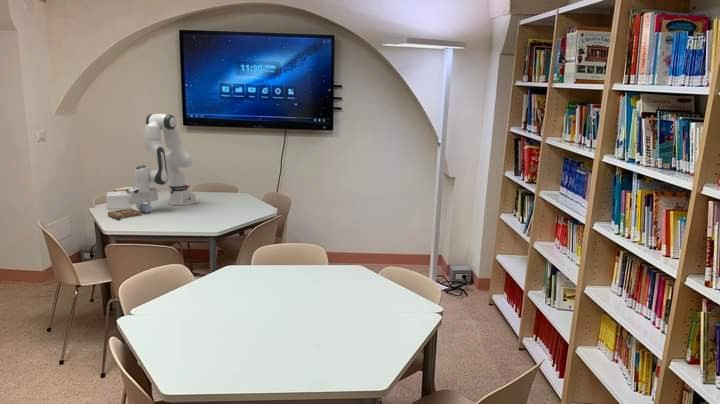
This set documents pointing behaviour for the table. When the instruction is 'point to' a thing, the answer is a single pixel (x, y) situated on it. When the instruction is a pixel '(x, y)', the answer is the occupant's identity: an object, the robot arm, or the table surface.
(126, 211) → the board
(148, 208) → the strip
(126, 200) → the cable organizer
